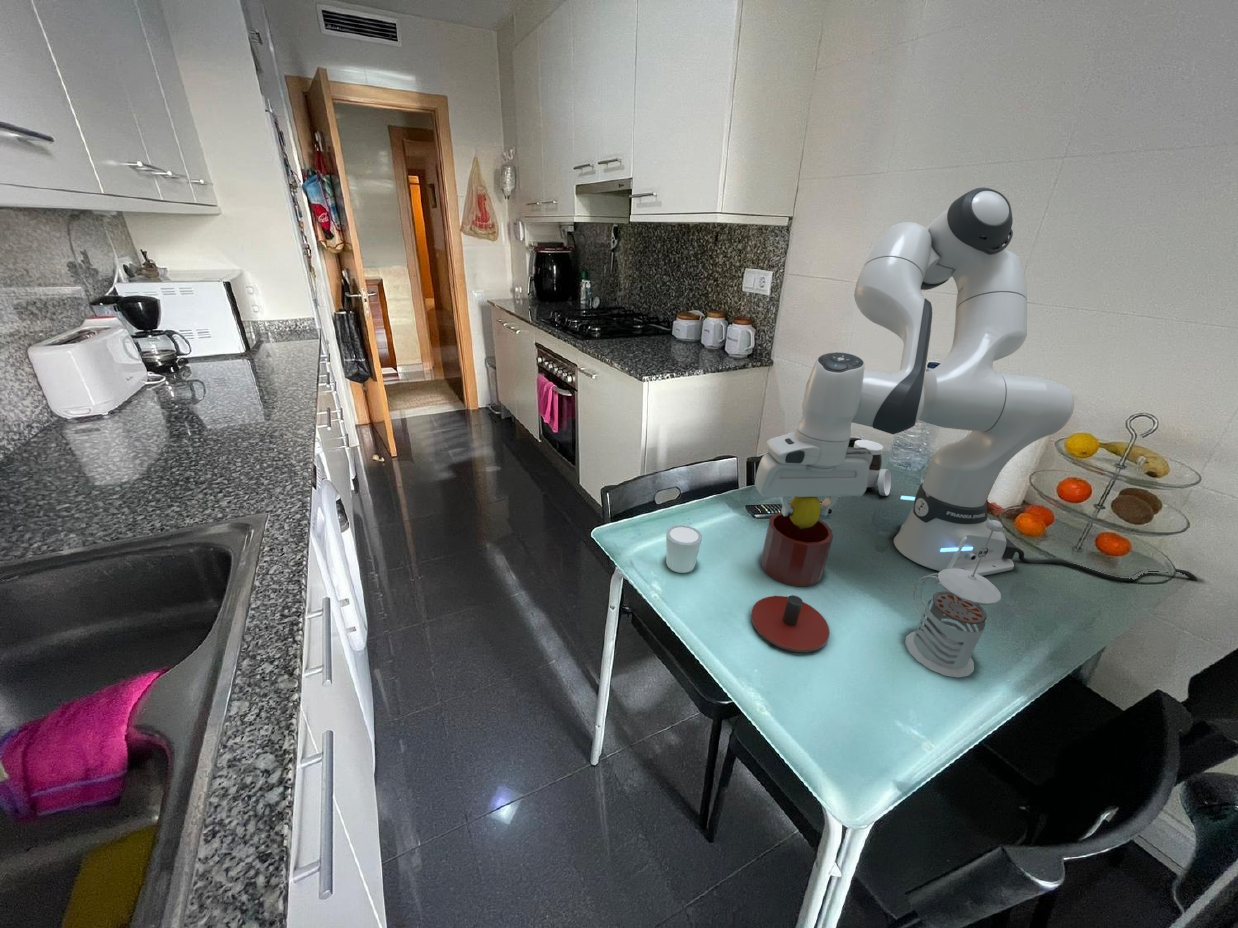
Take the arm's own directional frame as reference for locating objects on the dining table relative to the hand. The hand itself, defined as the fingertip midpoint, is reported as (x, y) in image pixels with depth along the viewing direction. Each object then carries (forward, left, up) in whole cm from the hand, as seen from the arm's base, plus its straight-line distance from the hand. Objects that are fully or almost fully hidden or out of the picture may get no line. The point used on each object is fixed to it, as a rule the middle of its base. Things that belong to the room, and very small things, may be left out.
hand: (803, 514), depth 94 cm
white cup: (+22, -2, -12) cm, 25 cm away
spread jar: (-35, -33, -12) cm, 50 cm away
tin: (0, 0, -12) cm, 12 cm away
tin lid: (+7, +16, -12) cm, 21 cm away
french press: (-15, +22, -12) cm, 29 cm away
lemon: (0, 0, -3) cm, 3 cm away
